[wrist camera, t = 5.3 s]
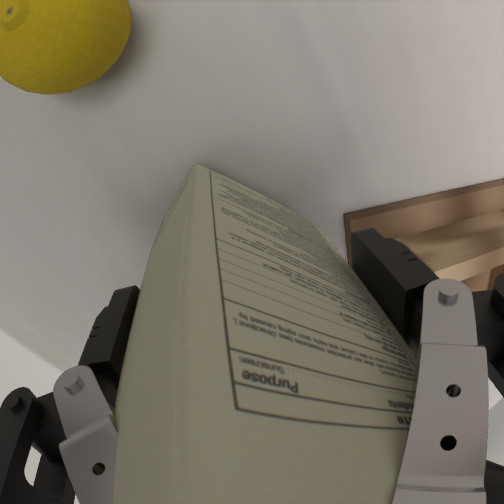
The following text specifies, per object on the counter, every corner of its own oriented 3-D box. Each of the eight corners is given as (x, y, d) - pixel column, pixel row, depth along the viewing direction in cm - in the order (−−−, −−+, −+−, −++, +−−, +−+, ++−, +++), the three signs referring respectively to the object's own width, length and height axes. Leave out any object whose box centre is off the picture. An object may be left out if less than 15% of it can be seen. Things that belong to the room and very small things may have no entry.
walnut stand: (352, 382, 25) (372, 429, 20) (343, 214, 18) (382, 254, 13) (489, 327, 24) (516, 359, 20) (515, 176, 18) (562, 199, 13)
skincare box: (149, 249, 13) (77, 570, 3) (195, 157, 12) (125, 565, 1) (276, 304, 15) (353, 569, 5) (329, 229, 14) (504, 494, 3)
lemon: (128, 101, 14) (52, 108, 7) (38, 85, 13) (-65, 94, 5) (164, 1, 12) (123, -69, 5) (70, -8, 10) (-14, -54, 3)
